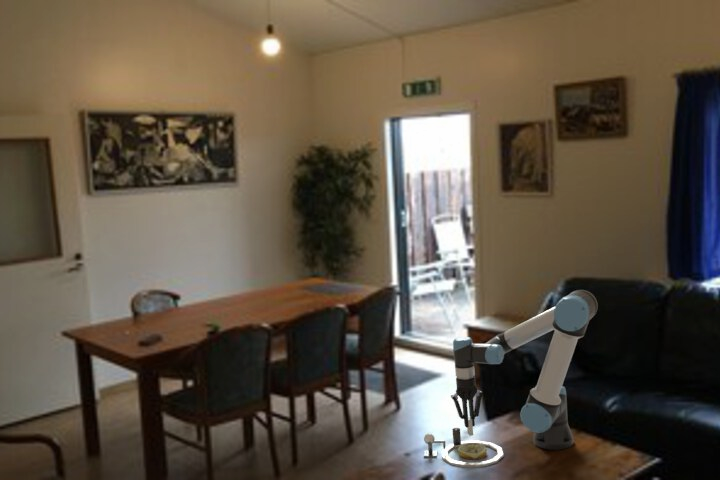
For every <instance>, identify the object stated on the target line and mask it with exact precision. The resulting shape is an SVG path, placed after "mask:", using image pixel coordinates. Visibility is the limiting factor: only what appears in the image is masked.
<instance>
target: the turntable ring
mask: <svg viewBox="0 0 720 480" xmlns="http://www.w3.org/2000/svg"><path fill="white" fill-rule="evenodd" d="M451 431H452V441H453V442H452V443H451V444H448V445H447V446H445V447H446V449H444V448H443V449H442V450H441V457H442V460H443V461H444V462H446V463H447V464H449V465H451V466H456V467H460V468H467V469H469V468H483V467H487V466H490V465H494V464H497V463H499V462H500V460H502V459H503V458H504V456H505V455H504V451H503V447H501V446H499V445H497V444H495V443H494V442H490V441H483V440H463V441H462V439H461V438H462V437H461V428H460V427H453V428H452V430H451ZM467 443H477V444H480V445H483V446H484V447H488V448H491V449H492V450H494V451H496V455H495V456H493V458H491V459H487V460H484V461H480V462H479V461H477V462H465V461H460V460H455V459H453V458H452V457H450V456H448V455H449V454H448V453H450V452H451V451H452V450H453V449H456V448H459V447H460V446H461V445H463V444H467Z"/></svg>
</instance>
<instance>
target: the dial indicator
mask: <svg viewBox="0 0 720 480" xmlns="http://www.w3.org/2000/svg"><path fill="white" fill-rule="evenodd" d="M423 441H424V443H425V444H427V446H428V447H427V450H424V453H423V458H424V459H425V458H426V459H428V458H431V459H432V458H435V459H436V458H438V453H439V451H438V450H437V449H436V450H435V449H433V444H442V446H443V449H446V447H447V446H446V439H435V436H434V435H433V434H432V433H427V434H425V435H424V437H423Z"/></svg>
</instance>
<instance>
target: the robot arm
mask: <svg viewBox="0 0 720 480" xmlns="http://www.w3.org/2000/svg"><path fill="white" fill-rule="evenodd" d="M598 307H599V304H598V301H597V298H596V297H595V295H594V294H593V293H591V292H590V291H588V290H586V289H585V290H584V289H577V290H574V291H572V292H570V293H569V294H568V295H565V296H563V297H562V298H560V300H558V302H557V303H556V304H555V306H553V307H551V308H549V309H547V310H545V311H543V312H542V313H540V314H537V315H535V316H533V317H531V318H529V319H528V320H525V321H524V322H522V323H520V324H518V325H515V326H513V327H512V328H509V329H507V330H505V331H504V332H502V333H498V334H496V335H495V336H493V338H491V339H489V340H488V341H486V342H485V343H474V342H473V339H472V338H471V337H469V336H459V337H456V338H455V339H454V340H453V341H452V344H453V345H452V347H453V349H452V351H453V360H454V369H455V370H454V371H455V372H454V373H455V377H456V378H455V382H456V383H455V384H456V390H455V393H453V394H451V395H450V398H451V399H452V400H453V402H454V406H455V408H456V411H457V415H458V417H459V418H460V419H461V420H464V421H463V423H464V427H465V428H466V429H467V435H468V436H469V437H472V436H474V428H473V427H476V426H475V425H476V424H475V419H476V417H479V416H480V408H481V403H482V402H481V401H482V397H483V395H484V392H483V391H481V390H478V388H477V383H476V377H475V375H476V373H475V372H476V371H475V364H487V365H501V363H503V360H504V358H505V354H506V353H509V352H511V351H512V350H514V349H517V348H519V347H521V346H523V345H526V344H527V343H528V342H531V341H533V340H535V339H537V338H539V337H541V336H543V335H546V334H548V333H550V332H552V331H553V335H552V338H551V341H550V344H549V347H548V351H547V353H546V355H545V359H544V362H543V365H542V368H541V371H540V374H539V377H538V380H537V383H536V385H535V386H534V387H533V388H531V389H530V390H529V394H528V397H527V399H526V402H525V404H524V405H523V406H522V407H521V410H520V416H519V417H520V421H521V423H522V424H523V426H524V427H525V428H526V429H527V430H529V431H530V432H532V433H533V438H532V439H533V443H534V446H536V447H538V448H541V449H545V450H550V451H553V450H554V451H557V450H558V451H559V450H564V449H568V448H570V447H572V446H573V445H574V443H575V442H574V436H573V433H572V431H571V428H570V426H569V421H568V402H567V401H568V400H567V390H566V387H565V386H563V385H564V381H565V378H566V375H567V374H568V373H567V372H568V369H569V367H570V363H571V362H572V358H573V355H574V353H575V349H576V346H577V343H578V340H579V339H581V338H583V337H585V334H586V331H587V329H588V325H589V322H590V320H592V318H594V317H595V315H596V314H597V311H598ZM474 397H475V403H474ZM459 398H460V400H461V403H462V404H461V405H462V408H461V406H460V402H459V400H458V399H459ZM468 411H469V412H468Z"/></svg>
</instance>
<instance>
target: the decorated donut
mask: <svg viewBox="0 0 720 480" xmlns="http://www.w3.org/2000/svg"><path fill="white" fill-rule="evenodd" d="M457 448H458V449H457V452H458V455H459V457H461V458H462V459H464V460H470V461H473V460H481V459H484V458H486V457H487V454H488V453H487V451H488V449H487V448H486V446H483V445H480V444H477V443H467V444H463V445H461V446H460V447H457Z"/></svg>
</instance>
